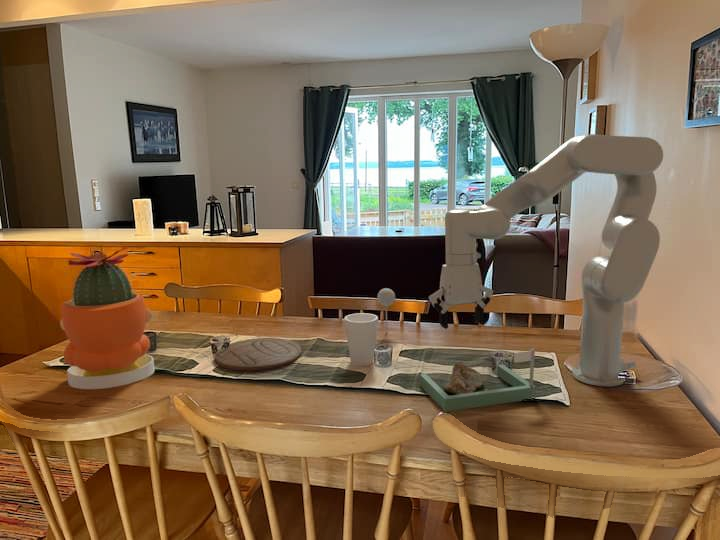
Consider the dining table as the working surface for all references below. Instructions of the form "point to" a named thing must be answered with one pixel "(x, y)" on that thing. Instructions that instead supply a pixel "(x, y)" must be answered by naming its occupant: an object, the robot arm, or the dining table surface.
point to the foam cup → (361, 337)
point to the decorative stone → (463, 380)
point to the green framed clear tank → (490, 397)
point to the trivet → (258, 354)
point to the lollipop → (386, 299)
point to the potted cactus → (105, 327)
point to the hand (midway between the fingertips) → (461, 324)
